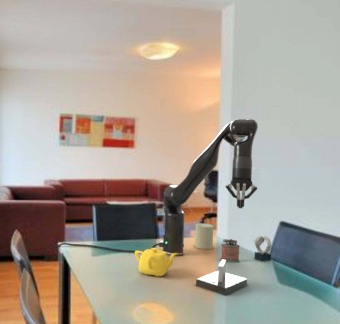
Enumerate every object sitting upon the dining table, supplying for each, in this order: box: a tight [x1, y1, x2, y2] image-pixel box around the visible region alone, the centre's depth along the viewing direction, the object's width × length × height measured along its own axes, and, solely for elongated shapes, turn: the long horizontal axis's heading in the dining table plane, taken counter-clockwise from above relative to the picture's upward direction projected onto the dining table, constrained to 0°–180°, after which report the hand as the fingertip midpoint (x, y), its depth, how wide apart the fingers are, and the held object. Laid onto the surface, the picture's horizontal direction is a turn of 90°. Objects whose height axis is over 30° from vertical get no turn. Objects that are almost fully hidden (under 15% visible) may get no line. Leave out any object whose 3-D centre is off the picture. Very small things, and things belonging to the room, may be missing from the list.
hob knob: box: [217, 260, 227, 282], centre depth 145 cm, size 8×2×6 cm, turn 153°
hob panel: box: [195, 270, 248, 296], centre depth 145 cm, size 16×13×3 cm
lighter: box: [220, 238, 240, 263], centre depth 178 cm, size 8×3×10 cm, turn 84°
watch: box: [253, 235, 272, 262], centre depth 182 cm, size 6×8×11 cm
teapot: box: [134, 247, 178, 278], centre depth 158 cm, size 14×13×10 cm
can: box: [194, 223, 215, 250], centre depth 202 cm, size 9×9×12 cm
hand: (240, 208), depth 162 cm, fingers closed
